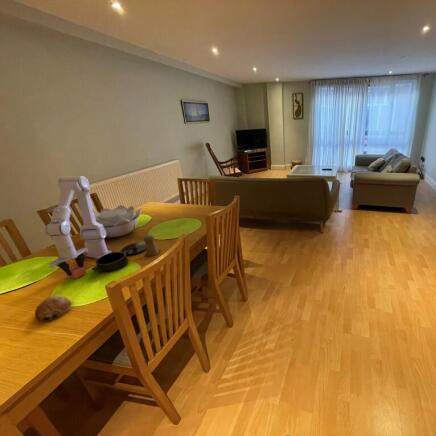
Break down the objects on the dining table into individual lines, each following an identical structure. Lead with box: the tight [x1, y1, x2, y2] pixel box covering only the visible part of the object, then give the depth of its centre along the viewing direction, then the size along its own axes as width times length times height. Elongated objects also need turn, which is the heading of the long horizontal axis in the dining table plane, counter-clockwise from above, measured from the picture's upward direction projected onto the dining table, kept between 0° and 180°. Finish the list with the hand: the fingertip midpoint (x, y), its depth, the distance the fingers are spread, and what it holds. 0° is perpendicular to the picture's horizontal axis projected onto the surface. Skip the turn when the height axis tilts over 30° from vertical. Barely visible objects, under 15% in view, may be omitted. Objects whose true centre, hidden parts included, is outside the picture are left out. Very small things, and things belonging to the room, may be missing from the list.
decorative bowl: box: [94, 204, 142, 238], centre depth 154 cm, size 30×30×15 cm
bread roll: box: [34, 295, 72, 322], centre depth 92 cm, size 10×10×8 cm
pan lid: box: [120, 240, 146, 256], centre depth 137 cm, size 14×14×5 cm
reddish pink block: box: [66, 265, 87, 279], centre depth 114 cm, size 6×4×3 cm
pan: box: [91, 251, 129, 273], centre depth 122 cm, size 12×18×4 cm
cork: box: [143, 234, 160, 257], centre depth 132 cm, size 6×6×11 cm
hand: (75, 272), depth 114 cm, fingers closed on reddish pink block, 4 cm apart
